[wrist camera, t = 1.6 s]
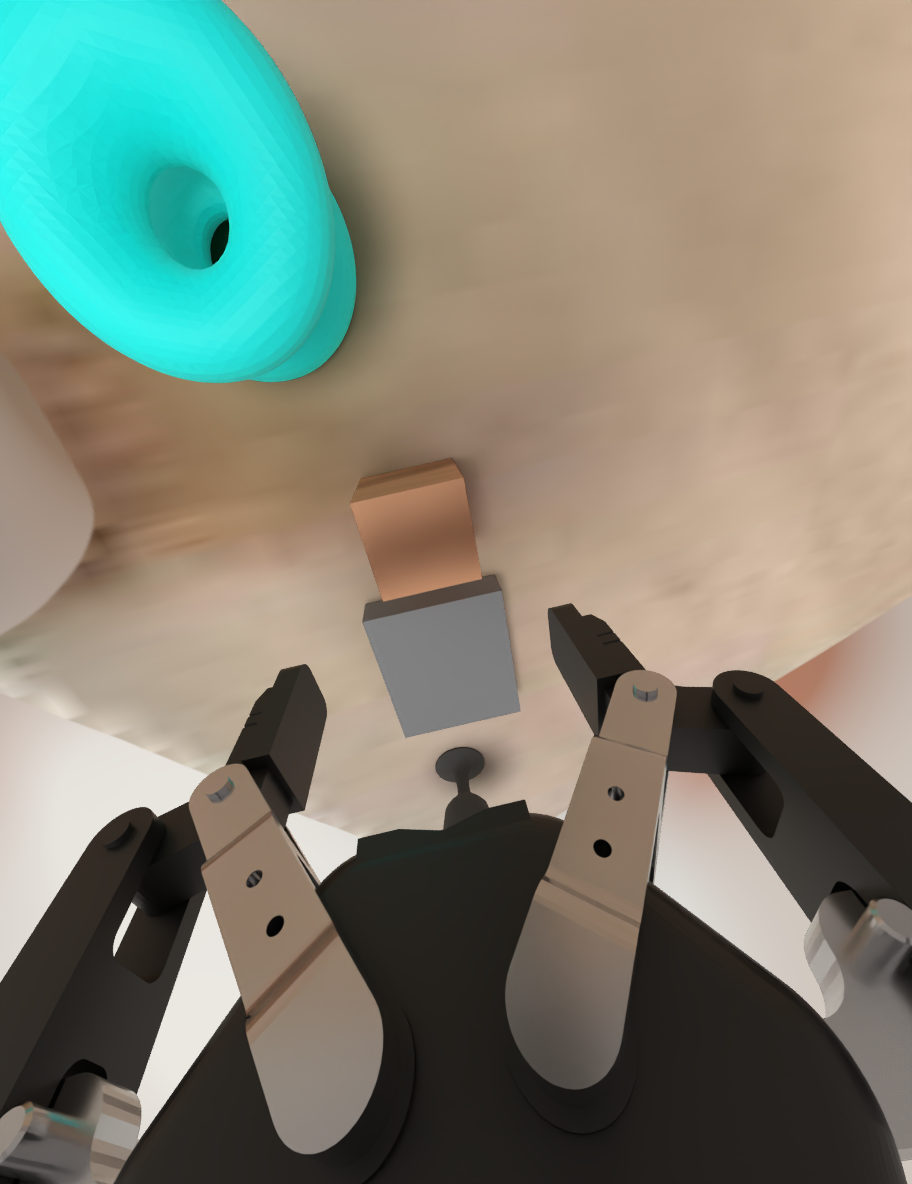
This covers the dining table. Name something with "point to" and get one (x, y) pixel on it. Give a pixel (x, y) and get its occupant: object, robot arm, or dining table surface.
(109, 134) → the donuts
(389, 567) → the cube
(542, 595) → the dining table surface
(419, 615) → the base
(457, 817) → the sundae
